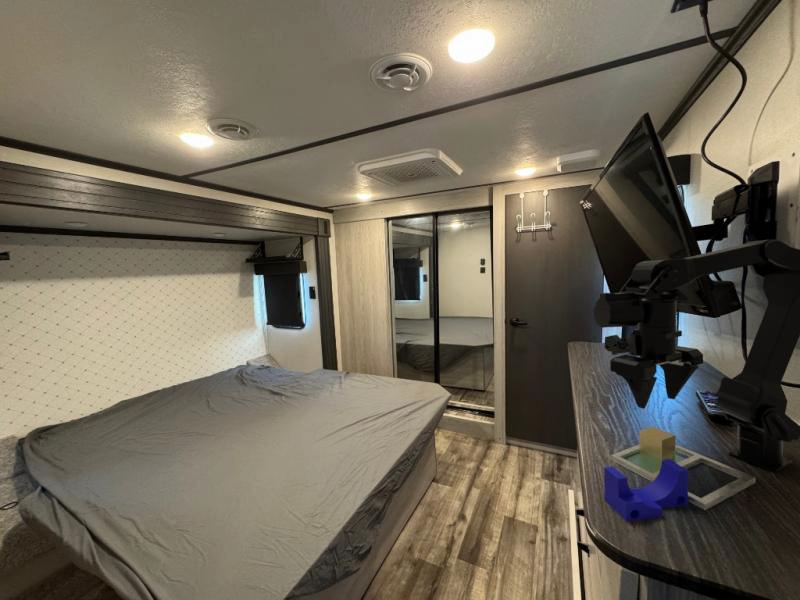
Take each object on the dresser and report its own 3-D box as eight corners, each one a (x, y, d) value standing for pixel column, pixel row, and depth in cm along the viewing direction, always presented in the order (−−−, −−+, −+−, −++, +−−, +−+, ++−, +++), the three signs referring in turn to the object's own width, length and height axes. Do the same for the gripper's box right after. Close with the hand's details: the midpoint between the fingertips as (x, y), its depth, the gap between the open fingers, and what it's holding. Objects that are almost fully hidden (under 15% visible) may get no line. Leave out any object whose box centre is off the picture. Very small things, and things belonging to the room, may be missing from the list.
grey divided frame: (657, 441, 68) (657, 437, 68) (755, 482, 54) (755, 477, 54) (610, 459, 62) (610, 455, 62) (705, 510, 48) (705, 504, 48)
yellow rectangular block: (652, 451, 64) (652, 426, 63) (675, 462, 60) (675, 435, 60) (639, 456, 62) (639, 430, 62) (662, 467, 59) (661, 440, 58)
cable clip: (626, 522, 47) (626, 485, 47) (604, 501, 52) (604, 467, 51) (697, 512, 48) (697, 476, 48) (670, 492, 53) (670, 459, 52)
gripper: (642, 316, 70) (643, 382, 71) (583, 325, 64) (585, 398, 65) (705, 321, 60) (704, 399, 61) (642, 333, 53) (642, 419, 54)
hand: (656, 403), depth 60 cm, fingers open, 9 cm apart
